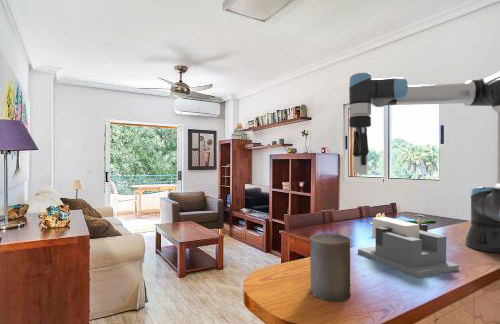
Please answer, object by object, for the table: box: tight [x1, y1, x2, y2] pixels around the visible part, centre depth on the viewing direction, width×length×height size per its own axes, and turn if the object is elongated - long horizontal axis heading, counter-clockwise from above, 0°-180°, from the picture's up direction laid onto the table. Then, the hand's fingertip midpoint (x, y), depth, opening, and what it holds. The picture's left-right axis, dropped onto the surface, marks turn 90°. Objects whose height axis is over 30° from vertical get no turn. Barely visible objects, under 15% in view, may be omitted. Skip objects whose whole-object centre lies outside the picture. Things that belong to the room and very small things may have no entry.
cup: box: [413, 222, 429, 232], centre depth 119 cm, size 8×7×8 cm
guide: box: [357, 227, 460, 278], centre depth 100 cm, size 24×17×10 cm
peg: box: [371, 216, 420, 240], centre depth 104 cm, size 14×6×7 cm, turn 22°
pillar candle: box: [309, 232, 351, 302], centre depth 75 cm, size 10×10×15 cm
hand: (360, 173), depth 113 cm, fingers open, 13 cm apart
